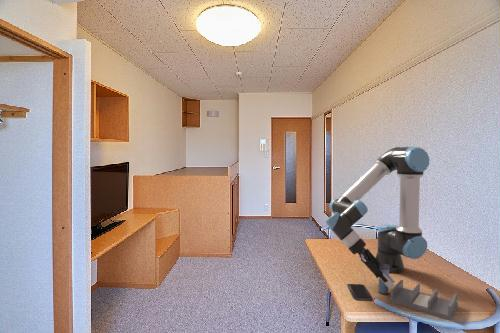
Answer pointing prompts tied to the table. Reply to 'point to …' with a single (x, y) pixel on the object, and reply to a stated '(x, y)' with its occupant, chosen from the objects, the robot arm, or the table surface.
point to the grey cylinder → (382, 286)
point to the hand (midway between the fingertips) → (392, 285)
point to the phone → (359, 292)
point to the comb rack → (424, 301)
